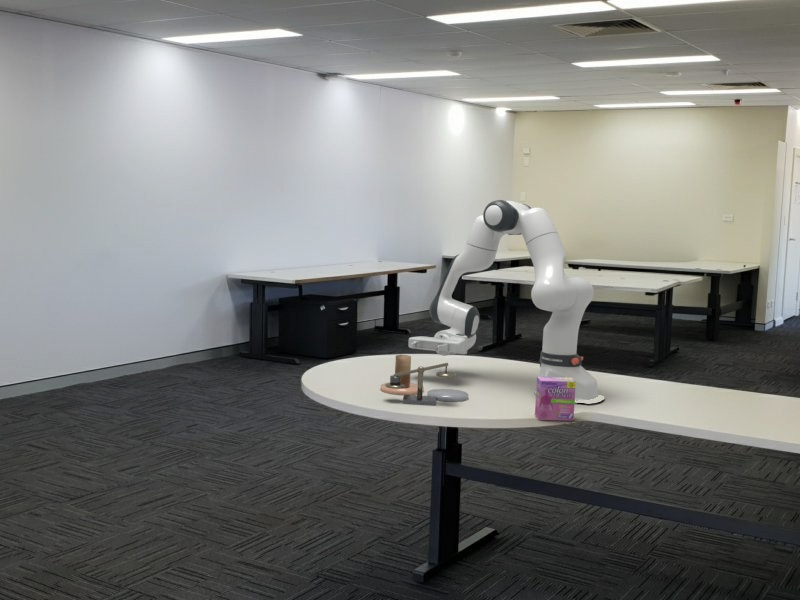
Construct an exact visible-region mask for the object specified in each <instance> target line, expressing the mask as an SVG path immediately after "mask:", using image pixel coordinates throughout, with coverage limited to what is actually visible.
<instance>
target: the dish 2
mask: <svg viewBox="0 0 800 600" xmlns="http://www.w3.org/2000/svg"><path fill="white" fill-rule="evenodd" d="M426 396H436V402H438V401H439V402H444V403H445V402H447V403H457V402H464V401H468V399H469V393H468V392H466V391H463V390H461V389H460V390H459V389H455V388H454V389H451V388H435V389H430V390H428V391H427V395H426Z"/></svg>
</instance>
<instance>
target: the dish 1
mask: <svg viewBox="0 0 800 600" xmlns="http://www.w3.org/2000/svg"><path fill="white" fill-rule="evenodd" d="M386 383H387V382H385V383H383V384H380V391H381V392H383V393H385V394H389V395H395V396H396V395H398V396H404V395H417V388H418V383H413V382H410V387H409V388H401V389H392V388H387V387H385V384H386ZM424 389H425V388H424V386H423V393H424V391H425V390H424Z"/></svg>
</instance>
